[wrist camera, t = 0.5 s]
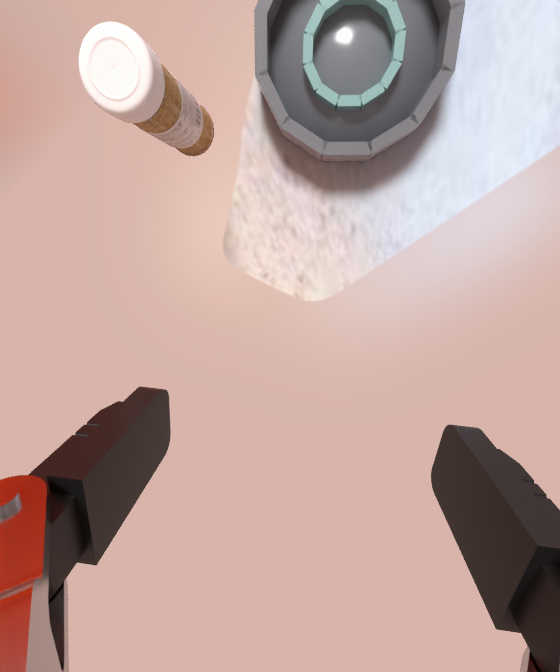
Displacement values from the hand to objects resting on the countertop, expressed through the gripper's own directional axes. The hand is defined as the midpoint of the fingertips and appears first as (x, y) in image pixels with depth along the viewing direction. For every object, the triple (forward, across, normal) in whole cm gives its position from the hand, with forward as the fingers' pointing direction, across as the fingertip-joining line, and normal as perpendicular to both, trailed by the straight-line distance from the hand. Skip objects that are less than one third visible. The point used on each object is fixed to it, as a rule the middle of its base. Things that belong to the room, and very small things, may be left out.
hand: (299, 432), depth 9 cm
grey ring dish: (+27, -2, -20) cm, 34 cm away
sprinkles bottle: (+27, +13, -13) cm, 33 cm away
